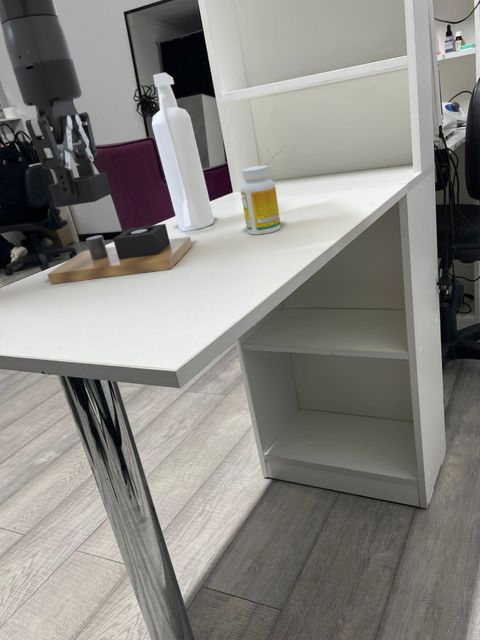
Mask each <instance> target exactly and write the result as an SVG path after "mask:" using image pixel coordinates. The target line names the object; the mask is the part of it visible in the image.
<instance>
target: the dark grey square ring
mask: <svg viewBox="0 0 480 640" xmlns="http://www.w3.org/2000/svg"><path fill="white" fill-rule="evenodd" d="M75 181H76V185H77V188H78V191H79V197H78V198H76V199H70V200H64V199H63V197H62V194H61V191H60V188H59V185H58V182H55V183H51V184H49V185H48V187H47V188H48V190H49V192H50V195H51V196H50V197H51V199H52V202H53V205H54V208H56V209H57V208H63V207H69V206H76V205H82V204H89V203H95V202H97V201H100V200H102V199H104V198H105V197H108V196H110V195H112V191H111V187H110V183H109V180H108V176H107V174H106V172H102V173H95V175H89V176H83V177H79V176H77V177H75Z"/></svg>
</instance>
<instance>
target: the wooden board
mask: <svg viewBox="0 0 480 640" xmlns="http://www.w3.org/2000/svg"><path fill="white" fill-rule="evenodd" d="M141 233H148V230H147V229H141V230H136V231H133V232H131V235H134V234H141ZM85 241H86V244H87V247H88V249H87V250H83V251H80V252H79V253H78V254H76V255H75V256H73V257H71V258H70V259H68V260H67V261H65V262H64V263H63V264H61V265H60V266H58V267H56V268H55V269H53V270H52V271H50V272H48V273H47V277H48V280H49V284H50V285H54V284H55V285H56V284H63V283H70V282H80V281H86V280H94V279H95V280H96V279H103V278H113V277H119V276H127V275H137V274H145V273H150V272H160V271H166V270H167V271H169V270H172V269H173V268H174V267H175V265H176V264H177V263H178V262H179V261H180V260H181V259H182V258H183V257H184V255H185V254H186V253H187V252H188V251H189V250H190V249H191V248H192V247H193V243H192V240H191V236H185V237H176V238H169V241H170V244H169V245H168V246H167V247H166V248H164V249H163V250H162V251H161V252H160V253H159V254H158V255H150V256H143V257H135V258H127V259H119V258H118V255H117V251H116V248H115V246H109V247H106V243H105V240H104V236H103V235H94V236H90V237H87V238H85Z"/></svg>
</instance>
